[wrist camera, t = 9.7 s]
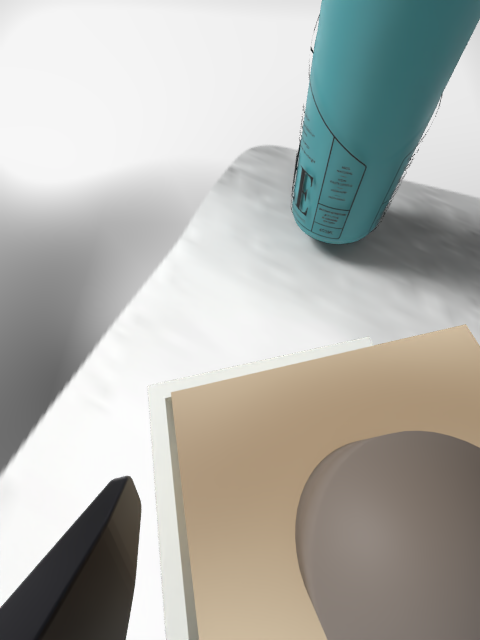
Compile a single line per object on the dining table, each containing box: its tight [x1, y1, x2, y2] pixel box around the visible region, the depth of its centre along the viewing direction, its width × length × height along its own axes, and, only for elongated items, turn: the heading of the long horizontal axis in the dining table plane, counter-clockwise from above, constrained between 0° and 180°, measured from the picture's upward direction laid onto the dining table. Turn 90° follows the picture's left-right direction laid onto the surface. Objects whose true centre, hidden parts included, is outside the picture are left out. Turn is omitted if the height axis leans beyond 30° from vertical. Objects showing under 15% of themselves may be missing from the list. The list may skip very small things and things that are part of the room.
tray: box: [147, 336, 374, 640], centre depth 14 cm, size 12×12×3 cm
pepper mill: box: [171, 324, 480, 640], centre depth 8 cm, size 5×5×13 cm
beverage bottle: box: [291, 0, 480, 244], centre depth 14 cm, size 6×7×20 cm
